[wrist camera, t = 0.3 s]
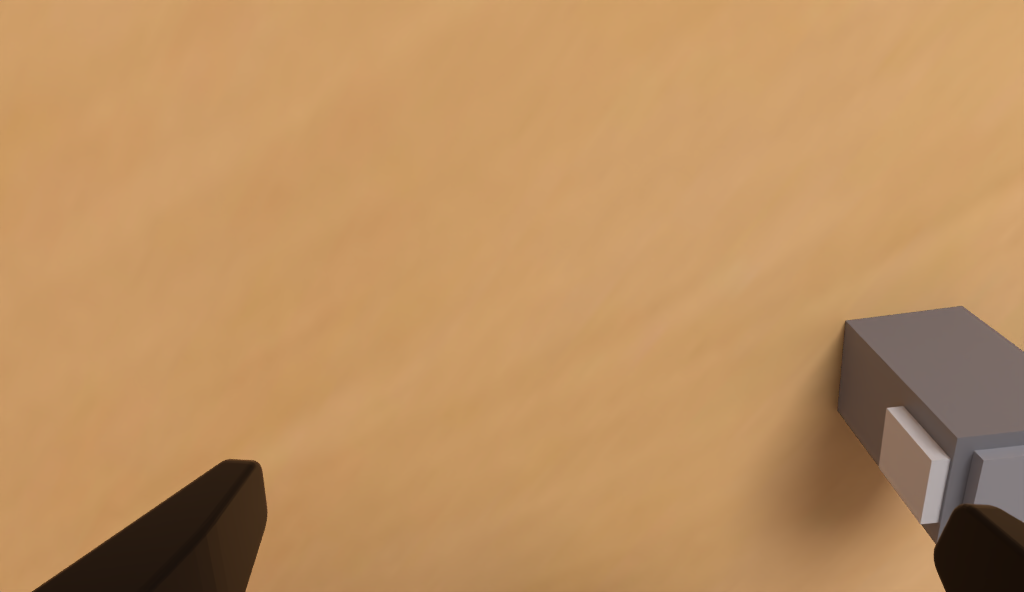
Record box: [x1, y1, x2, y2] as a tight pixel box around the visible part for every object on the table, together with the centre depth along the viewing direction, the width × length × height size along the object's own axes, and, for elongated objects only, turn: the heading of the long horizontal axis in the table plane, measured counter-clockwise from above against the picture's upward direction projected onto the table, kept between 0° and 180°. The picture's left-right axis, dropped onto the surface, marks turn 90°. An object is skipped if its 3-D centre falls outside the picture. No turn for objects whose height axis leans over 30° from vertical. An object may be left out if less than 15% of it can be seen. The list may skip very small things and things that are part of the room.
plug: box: [838, 306, 1024, 544], centre depth 20 cm, size 4×4×7 cm
